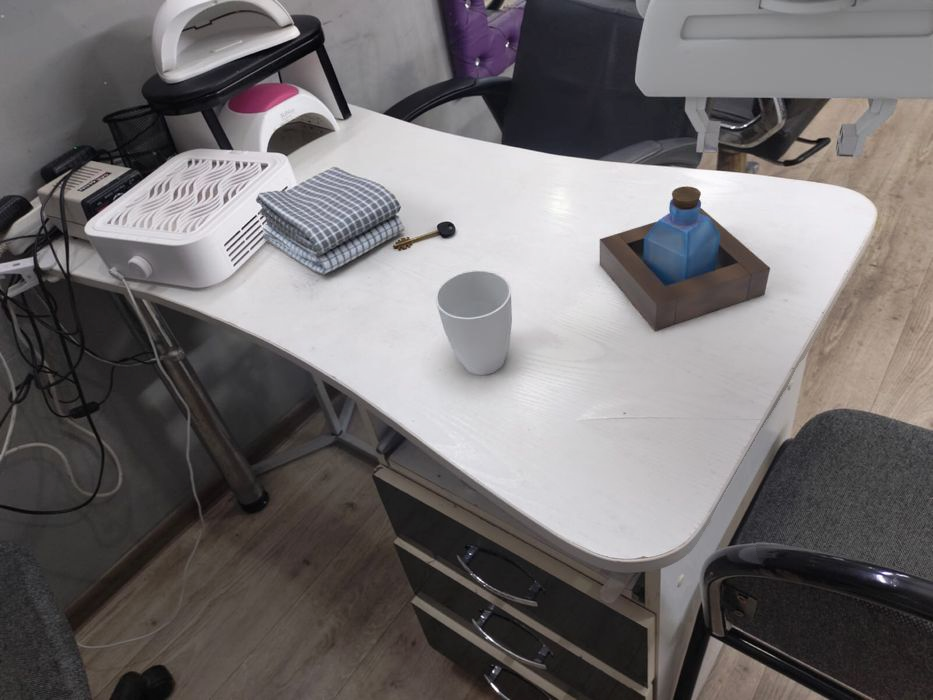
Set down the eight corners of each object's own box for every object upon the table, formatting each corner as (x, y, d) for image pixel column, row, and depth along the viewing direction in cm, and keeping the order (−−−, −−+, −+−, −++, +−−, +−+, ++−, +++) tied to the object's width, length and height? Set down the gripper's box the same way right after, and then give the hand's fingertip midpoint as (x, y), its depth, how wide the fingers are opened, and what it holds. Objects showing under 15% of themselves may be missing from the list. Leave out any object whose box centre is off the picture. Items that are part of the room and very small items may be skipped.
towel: (327, 284, 94) (311, 237, 89) (261, 239, 105) (243, 195, 100) (410, 233, 101) (400, 186, 96) (340, 195, 112) (327, 151, 106)
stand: (698, 233, 92) (701, 207, 89) (764, 294, 81) (770, 267, 78) (599, 264, 90) (599, 238, 87) (654, 331, 79) (656, 304, 77)
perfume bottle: (714, 275, 85) (726, 191, 77) (682, 299, 83) (691, 215, 74) (674, 256, 89) (681, 173, 80) (642, 278, 86) (646, 196, 78)
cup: (528, 343, 81) (521, 276, 74) (502, 391, 76) (493, 324, 69) (466, 330, 84) (454, 265, 77) (437, 376, 79) (422, 310, 72)
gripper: (629, -39, 41) (623, 167, 51) (1036, -60, 35) (942, 180, 44) (644, -68, 45) (635, 127, 55) (1009, -92, 39) (928, 134, 48)
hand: (775, 151), depth 50 cm, fingers open, 8 cm apart
